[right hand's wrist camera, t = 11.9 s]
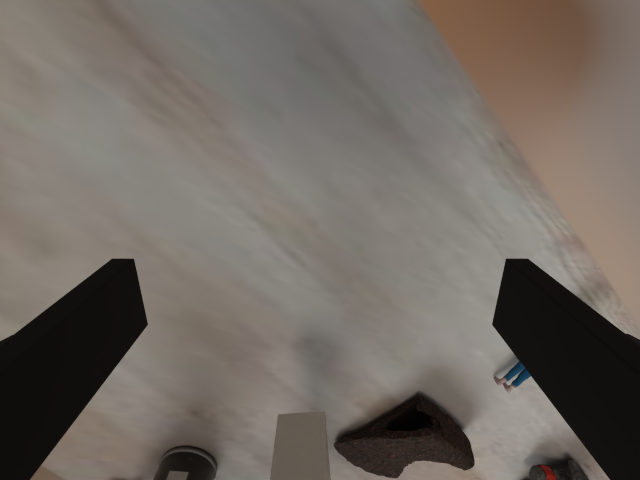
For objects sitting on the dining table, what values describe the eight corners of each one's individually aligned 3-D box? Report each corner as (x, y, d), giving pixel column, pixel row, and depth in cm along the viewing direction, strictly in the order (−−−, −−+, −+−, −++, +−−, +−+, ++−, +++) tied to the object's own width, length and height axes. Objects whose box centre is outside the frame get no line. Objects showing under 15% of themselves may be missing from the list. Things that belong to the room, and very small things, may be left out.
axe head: (394, 504, 61) (328, 488, 54) (384, 453, 67) (324, 433, 60) (487, 465, 52) (423, 441, 46) (466, 411, 59) (407, 384, 52)
